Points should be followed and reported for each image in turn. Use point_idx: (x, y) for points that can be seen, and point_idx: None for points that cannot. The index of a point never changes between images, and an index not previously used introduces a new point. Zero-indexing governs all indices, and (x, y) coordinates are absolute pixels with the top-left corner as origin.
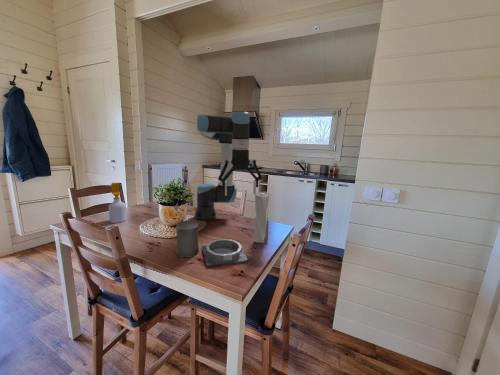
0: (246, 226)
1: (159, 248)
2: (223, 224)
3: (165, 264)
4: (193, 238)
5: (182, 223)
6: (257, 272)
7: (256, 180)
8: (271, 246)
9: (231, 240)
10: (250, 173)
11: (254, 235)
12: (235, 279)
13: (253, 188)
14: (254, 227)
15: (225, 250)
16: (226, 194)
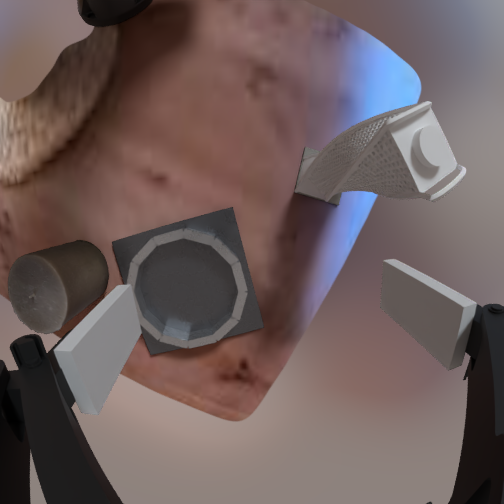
0: (273, 53)
1: (16, 251)
2: (180, 39)
3: (57, 331)
4: (79, 311)
5: (18, 283)
6: (282, 366)
7: (469, 365)
8: (348, 222)
9: (208, 240)
10: (463, 450)
11: (302, 182)
12: (228, 392)
13: (405, 276)
14: (310, 167)
15: (191, 271)
16: (135, 337)
